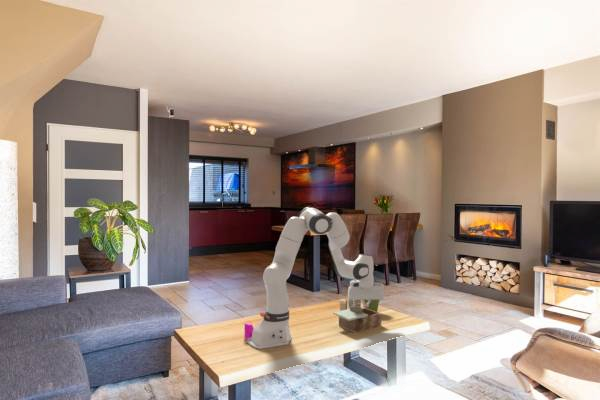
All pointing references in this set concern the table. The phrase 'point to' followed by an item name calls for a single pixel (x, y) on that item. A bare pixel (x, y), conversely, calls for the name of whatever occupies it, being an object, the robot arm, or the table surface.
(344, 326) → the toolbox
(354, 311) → the lid
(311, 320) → the table surface
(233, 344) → the table surface
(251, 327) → the toy block
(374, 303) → the plant pot
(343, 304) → the wooden block
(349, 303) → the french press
